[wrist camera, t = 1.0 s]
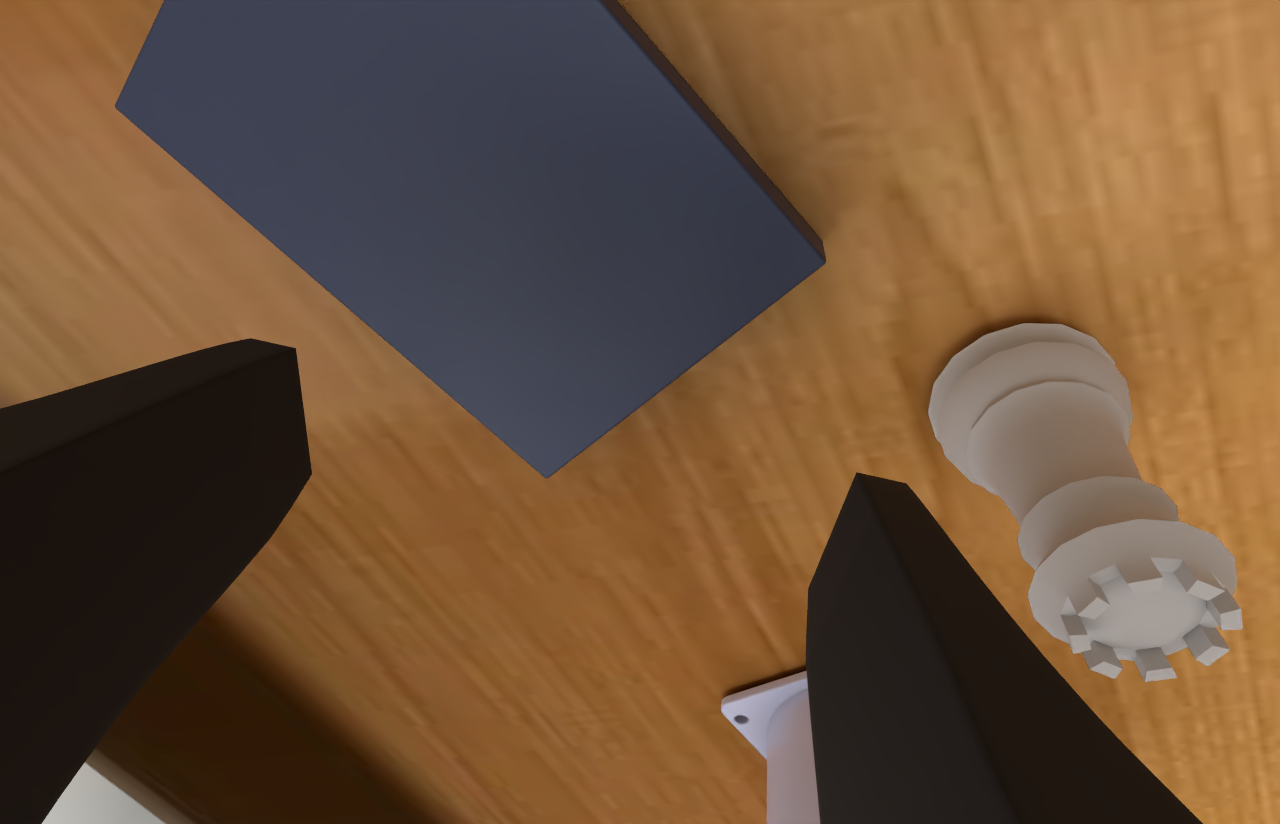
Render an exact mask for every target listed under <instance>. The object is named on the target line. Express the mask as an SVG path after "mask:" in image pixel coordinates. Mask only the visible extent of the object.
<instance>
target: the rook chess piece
mask: <svg viewBox="0 0 1280 824" xmlns="http://www.w3.org/2000/svg"><path fill="white" fill-rule="evenodd" d="M928 415H929V418H930V421H931V424H932V428H933V431H934V434H935V438H936V439H937V440H938V441H939V442H940V443H941V445H942V448H943V451H944V454H945V457H946V458H947V459H948V460H949V461H950V462H951V463H952V464H953V465H954V466H955V467H956V468H957V469H958V470H959V471H960V472H961V473H962V474H963V475H964V476H965V477H966V478H967V479H969V480H970V481H971V482H972V483H974V484H977V485H979V486H982V487H984V488H985V489H986V490H987V491H988V492H990V493H993V494H995V495H998V496H1000V497H1001V499H1002V500H1003V501H1004V503H1005V504H1006V506H1007V507H1008V508H1009V510H1010V511H1011V513H1012V514H1013V515H1014V517H1015V518H1016V520H1017V521H1018V523H1019V525H1020V527H1021V528H1020V532H1019V535H1018V538H1017V540H1018V543H1019V547H1020V551H1021V555H1022V558H1023V559H1024V560H1025V561H1026V562H1027V563H1028V564H1029V565H1030V566H1031V567H1032V568H1033V569H1034V570H1035V571H1036V572H1035V574H1034V577H1033V580H1032V583H1031V586H1030V589H1029V592H1028V598H1029V602H1030V606H1031V609H1032V613H1033V617H1034V619H1035V620H1036V621H1037V622H1038V623H1039V624H1040V625H1041V626H1042V627H1044V628H1045V629H1046V630H1047V631H1048V632H1049V633H1050V634H1051V635H1052V636H1053V637H1055V638H1057V639H1059V640H1062V641H1064V642H1066V643H1068V644H1069V645H1070V647H1071V649H1072V652H1073V654H1076V653H1080V652H1082V654H1083V656H1084V658H1085V661H1086V663H1087V665H1088V667H1089V669H1090V670H1092V671H1095V672H1097V673H1100V674H1103V675H1105V676H1108V677H1110V678H1113V679H1115V678H1116V677H1117V675H1118V674H1119V673H1120V672H1121V671H1122V669H1123V668H1122V666H1121V664H1120V662H1119V660H1118V659H1121V660H1132V661H1134V662H1135V664H1136V666H1137V668H1138V670H1139V671H1140V673H1141V675H1142V677H1143V679H1144V681H1145V682H1149V681H1157V680H1165V679H1172V678H1177V676H1176V674H1175V672H1174V670H1173V668H1172V667H1171V665H1170V663H1169V661H1168V660H1167V658H1166V656H1167V655H1170V654H1172V653H1175V652H1177V651H1180V650H1182V649H1185V648H1189V649H1190V651H1191V653H1192V654H1193V656H1194V658H1195V659H1196V660H1198V661H1199V662H1201V663H1203V664H1204V665H1206V666H1207V667H1208V666H1209V665H1210V664H1212V663H1213V662H1215V661H1216V660H1217V659H1219V658H1220V657H1221V656H1223V655H1224V654H1225V653H1227V652H1228V651H1230V648H1229V647H1228V645H1227V644H1226V642H1225V641H1224V639H1223V638H1222V636H1221V635H1220V633H1219V632H1218V630H1217V629H1216V627H1217V626H1218V625H1219V627H1220V628H1221V630H1237V629H1243V628H1242V615H1241V608H1240V607H1239V605H1238V604H1237V603H1236V601H1235V600H1234V598H1233V597H1232V596H1233V593H1234V591H1235V588H1236V586H1237V576H1236V564H1235V557H1234V556H1233V555H1232V554H1231V553H1230V552H1229V550H1228V549H1227V548H1226V547H1225V546H1224V545H1223V544H1222V543H1221V541H1220V540H1219V539H1218V538H1217V537H1216V536H1215V535H1213V534H1210V533H1208V532H1206V531H1203V530H1201V529H1198V528H1196V527H1193V526H1191V525H1188V524H1186V523H1183V522H1180V521H1179V518H1178V510H1177V506H1176V504H1175V503H1174V502H1173V501H1172V500H1171V499H1170V498H1169V497H1168V495H1167V494H1166V493H1165V492H1164V491H1163V490H1162V489H1161V488H1159V487H1157V486H1154V485H1152V484H1149V483H1147V482H1144V481H1143V480H1142V478H1141V476H1140V474H1139V472H1138V470H1137V467H1136V465H1135V463H1134V461H1133V458H1132V456H1131V454H1130V452H1129V449H1128V447H1127V445H1128V442H1129V439H1130V432H1129V428H1130V426H1131V423H1132V420H1133V415H1132V408H1131V402H1130V395H1129V389H1128V384H1127V380H1126V379H1125V378H1124V376H1123V375H1122V374H1121V373H1120V372H1119V371H1118V369H1117V368H1116V366H1115V361H1114V360H1113V359H1112V358H1111V356H1110V355H1109V354H1108V353H1107V352H1106V351H1105V349H1104V348H1103V347H1102V346H1101V345H1100V343H1099V342H1098V341H1097V340H1096V339H1095V338H1094V337H1092V336H1089V335H1087V334H1084V333H1082V332H1080V331H1077V330H1075V329H1073V328H1070V327H1068V326H1065V325H1063V324H1036V323H1022V324H1019V325H1015V326H1012V327H1009V328H1005V329H1002V330H999V331H995V332H992V333H989V334H986V335H983V336H982V337H981V338H979V339H978V340H976V341H975V342H973V343H972V344H970V345H969V346H968V347H966V348H965V349H963V350H962V351H960V352H959V353H957V354H956V355H954V356H953V357H952V359H951V360H950V362H949V363H948V364H947V366H946V367H945V369H944V370H943V371H942V373H941V374H940V376H939V377H938V378H937V380H936V381H935V383H934V384H933V389H932V394H931V399H930V404H929V409H928Z"/></svg>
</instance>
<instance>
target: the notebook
mask: <svg viewBox="0 0 1280 824" xmlns="http://www.w3.org/2000/svg"><path fill="white" fill-rule="evenodd" d="M115 107H116V109H117V110H118V111H120V112H121V113H122V114H123V115H124V116H125V117H127V118H128V119H129V120H130V121H131V122H132V123H133V124H135V125H136V126H137V127H138V128H139V129H140V130H142V131H143V132H144V133H145V134H146V135H147V136H149V137H150V138H151V139H152V140H153V141H154V142H156V143H157V144H158V145H159V146H160V147H161V148H163V149H164V150H165V151H166V152H167V153H168V154H170V155H171V156H172V157H173V158H174V159H175V160H176V161H178V162H179V163H180V164H181V165H182V166H183V167H185V168H186V169H187V170H188V171H189V172H190V173H192V174H193V175H194V176H195V177H196V178H197V179H199V180H200V181H201V182H202V183H203V184H204V185H206V186H207V187H208V188H209V189H210V190H211V191H212V192H214V193H215V194H216V195H217V196H218V197H219V198H221V199H222V200H223V201H224V202H225V203H226V204H228V205H229V206H230V207H231V208H232V209H233V210H235V211H236V212H237V213H238V214H239V215H240V216H242V217H243V218H244V219H245V220H246V221H247V222H248V223H250V224H251V225H252V226H253V227H254V228H255V229H257V230H258V231H259V232H260V233H261V234H262V235H264V236H265V237H266V238H267V239H268V240H269V241H271V242H272V243H273V244H274V245H275V246H276V247H278V248H279V249H280V250H281V251H282V252H283V253H284V254H286V255H287V256H288V257H289V258H290V259H291V260H293V261H294V262H295V263H296V264H297V265H298V266H300V267H301V268H302V269H303V270H304V271H305V272H307V273H308V274H309V275H310V276H311V277H312V278H314V279H315V280H316V281H317V282H318V283H319V284H320V285H322V286H323V287H324V288H325V289H326V290H327V291H329V292H330V293H331V294H332V295H333V296H334V297H336V298H337V299H338V300H339V301H340V302H341V303H343V304H344V305H345V306H346V307H347V308H348V309H350V310H351V311H352V312H353V313H354V314H355V315H357V316H358V317H359V318H360V319H361V320H362V321H363V322H365V323H366V324H367V325H368V326H369V327H370V328H372V329H373V330H374V331H375V332H376V333H377V334H379V335H380V336H381V337H382V338H383V339H384V340H386V341H387V342H388V343H389V344H390V345H391V346H393V347H394V348H395V349H396V350H397V351H398V352H399V353H401V354H402V355H403V356H404V357H405V358H406V359H408V360H409V361H410V362H411V363H412V364H413V365H415V366H416V367H417V368H418V369H419V370H420V371H422V372H423V373H424V374H425V375H426V376H427V377H429V378H430V379H431V380H432V381H433V382H434V383H435V384H437V385H438V386H439V387H440V388H441V389H442V390H444V391H445V392H446V393H447V394H448V395H449V396H451V397H452V398H453V399H454V400H455V401H456V402H458V403H459V404H460V405H461V406H462V407H463V408H465V409H466V410H467V411H468V412H469V413H470V414H471V415H473V416H474V417H475V418H476V419H477V420H478V421H480V422H481V423H482V424H483V425H484V426H485V427H487V428H488V429H489V430H490V431H491V432H492V433H494V434H495V435H496V436H497V437H498V438H499V439H501V440H502V441H503V442H504V443H505V444H506V445H507V446H509V447H510V448H511V449H512V450H513V451H514V452H516V453H517V454H518V455H519V456H520V457H521V458H523V459H524V460H525V461H526V462H527V463H528V464H530V465H531V466H532V467H533V468H534V469H535V470H537V471H538V472H539V473H540V474H541V475H542V476H544V477H545V478H549V477H550V476H551V475H553V474H554V473H555V472H557V471H558V470H559V469H560V468H562V467H563V466H564V465H566V464H567V463H568V462H570V461H571V460H572V459H573V458H575V457H576V456H577V455H579V454H580V453H581V452H582V451H584V450H585V449H586V448H588V447H589V446H590V445H591V444H593V443H594V442H595V441H597V440H598V439H599V438H601V437H602V436H603V435H604V434H606V433H607V432H608V431H610V430H611V429H612V428H613V427H615V426H616V425H617V424H619V423H620V422H621V421H622V420H624V419H625V418H626V417H628V416H629V415H630V414H632V413H633V412H634V411H635V410H637V409H638V408H639V407H641V406H642V405H643V404H644V403H646V402H647V401H648V400H650V399H651V398H652V397H653V396H655V395H656V394H657V393H659V392H660V391H661V390H663V389H664V388H665V387H666V386H668V385H669V384H670V383H672V382H673V381H674V380H675V379H677V378H678V377H679V376H681V375H682V374H683V373H684V372H686V371H687V370H688V369H690V368H691V367H692V366H694V365H695V364H696V363H697V362H699V361H700V360H701V359H703V358H704V357H705V356H706V355H708V354H709V353H710V352H712V351H713V350H714V349H715V348H717V347H718V346H719V345H721V344H722V343H723V342H725V341H726V340H727V339H728V338H730V337H731V336H732V335H734V334H735V333H736V332H737V331H739V330H740V329H741V328H743V327H744V326H745V325H746V324H748V323H749V322H750V321H752V320H753V319H754V318H756V317H757V316H758V315H759V314H761V313H762V312H763V311H765V310H766V309H767V308H768V307H770V306H771V305H772V304H774V303H775V302H776V301H777V300H779V299H780V298H781V297H783V296H784V295H785V294H787V293H788V292H789V291H790V290H792V289H793V288H794V287H796V286H797V285H798V284H799V283H801V282H802V281H803V280H805V279H806V278H807V277H808V276H810V275H811V274H812V273H814V272H815V271H816V270H818V269H819V268H820V267H821V266H823V265H824V264H825V263H826V258H825V252H824V247H823V242H822V240H821V238H820V237H819V236H818V235H817V234H816V233H815V231H814V230H813V229H812V228H811V227H810V226H809V224H808V223H807V222H806V221H805V220H804V219H803V217H802V216H801V215H800V214H799V213H798V212H797V210H796V209H795V208H794V207H793V206H792V205H791V203H790V202H789V201H788V200H787V199H786V198H785V196H784V195H783V194H782V193H781V192H780V191H779V189H778V188H777V187H776V186H775V185H774V184H773V182H772V181H771V180H770V179H769V178H768V177H767V175H766V174H765V173H764V172H763V171H762V170H761V168H760V167H759V166H758V165H757V164H756V162H755V161H754V160H753V159H752V158H751V157H750V155H749V154H748V153H747V152H746V151H745V150H744V148H743V147H742V146H741V145H740V144H739V143H738V141H737V140H736V139H735V138H734V137H733V136H732V134H731V133H730V132H729V131H728V130H727V129H726V127H725V126H724V125H723V124H722V123H721V122H720V120H719V119H718V118H717V117H716V116H715V115H714V113H713V112H712V111H711V110H710V109H709V108H708V106H707V105H706V104H705V103H704V102H703V101H702V99H701V98H700V97H699V96H698V95H697V94H696V92H695V91H694V90H693V89H692V88H691V87H690V85H689V84H688V83H687V82H686V81H685V80H684V78H683V77H682V76H681V75H680V74H679V73H678V71H677V70H676V69H675V68H674V67H673V66H672V64H671V63H670V62H669V61H668V60H667V58H666V57H665V56H664V55H663V54H662V53H661V51H660V50H659V49H658V48H657V47H656V46H655V44H654V43H653V42H652V41H651V40H650V39H649V37H648V36H647V35H646V34H645V33H644V32H643V30H642V29H641V28H640V27H639V26H638V25H637V23H636V22H635V21H634V20H633V19H632V18H631V16H630V15H629V14H628V13H627V12H626V11H625V9H624V8H623V7H622V6H621V5H620V4H619V2H618V1H617V0H164V2H163V4H162V6H161V8H160V11H159V13H158V15H157V17H156V19H155V21H154V23H153V25H152V28H151V30H150V32H149V34H148V36H147V38H146V40H145V42H144V45H143V47H142V49H141V51H140V53H139V55H138V57H137V60H136V62H135V64H134V66H133V68H132V70H131V72H130V74H129V77H128V79H127V81H126V83H125V85H124V87H123V89H122V91H121V94H120V96H119V98H118V100H117V102H116V104H115Z"/></svg>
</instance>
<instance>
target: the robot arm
mask: <svg viewBox="0 0 1280 824" xmlns="http://www.w3.org/2000/svg"><path fill="white" fill-rule="evenodd" d="M311 475H312V470H311V463H310V455H309V447H308V439H307V432H306V424H305V416H304V408H303V401H302V393H301V385H300V377H299V370H298V362H297V354H296V348H292V347H287V346H283V345H278V344H274V343H269V342H265V341H260V340H256V339H251V338H250V339H245V340H240V341H235V342H230V343H226V344H222V345H218V346H214V347H210V348H206V349H203V350H199V351H196V352H192V353H189V354H185V355H182V356H178V357H175V358H171V359H168V360H165V361H161V362H158V363H155V364H151V365H148V366H145V367H141V368H138V369H135V370H131V371H128V372H125V373H122V374H118V375H115V376H112V377H108V378H105V379H102V380H98V381H95V382H92V383H88V384H85V385H82V386H79V387H75V388H72V389H69V390H65V391H62V392H59V393H55V394H52V395H48V396H45V397H41V398H38V399H34V400H30V401H27V402H23V403H20V404H16V405H12V406H9V407H5V408H1V409H0V824H42V822H43V821H44V819H45V818H46V816H47V815H48V813H49V812H50V810H51V809H52V807H53V806H54V804H55V803H56V802H57V800H58V799H59V797H60V796H61V794H62V793H63V792H64V790H65V789H66V787H67V786H68V785H69V783H70V782H71V780H72V779H73V777H74V776H75V775H76V773H77V772H78V770H79V769H80V768H81V766H82V765H83V764H84V762H85V761H86V760H87V758H88V757H89V755H90V754H91V753H92V751H93V750H94V749H95V747H96V746H97V744H98V743H99V742H100V740H101V739H102V737H103V736H104V735H105V733H106V732H107V730H108V729H109V728H110V726H111V725H112V724H113V722H114V721H115V719H116V718H117V717H118V715H119V714H120V713H121V712H122V710H123V709H124V708H125V707H126V706H127V704H128V703H129V702H130V701H131V699H132V698H133V697H134V696H135V694H136V693H137V692H138V691H139V689H140V688H141V687H142V686H143V685H144V683H145V682H146V681H147V680H148V679H149V677H150V676H151V675H152V674H153V673H154V672H155V671H156V669H157V668H158V667H159V666H160V665H161V664H162V663H163V661H164V660H165V659H166V658H167V657H168V656H169V655H170V653H171V652H172V651H173V650H174V649H175V648H176V647H177V645H178V644H179V643H180V642H181V641H182V640H183V639H184V637H185V636H186V635H187V634H188V633H189V632H190V631H191V629H192V628H193V627H194V626H195V625H196V624H197V623H198V621H199V620H200V619H201V618H202V617H203V616H204V615H205V613H206V612H207V611H208V610H209V609H210V608H211V607H212V605H213V604H214V603H215V602H216V601H217V600H218V599H219V597H220V596H221V595H222V594H223V593H224V592H225V591H226V589H227V588H228V587H229V586H230V585H231V584H232V582H233V581H234V580H235V579H236V578H237V577H238V576H239V574H240V573H241V572H242V571H243V570H244V569H245V567H246V566H247V565H248V564H249V563H250V562H251V560H252V559H253V558H254V557H255V556H256V555H257V553H258V552H259V551H260V550H261V549H262V547H263V546H264V545H265V544H266V543H267V541H268V540H269V539H270V538H271V537H272V535H273V534H274V532H275V531H276V529H277V528H278V526H279V525H280V523H281V522H282V520H283V519H284V517H285V516H286V514H287V513H288V511H289V510H290V509H291V507H292V505H293V504H294V502H295V500H296V499H297V497H298V496H299V494H300V492H301V491H302V489H303V488H304V486H305V484H306V483H307V481H308V480H309V478H310V476H311ZM721 712H722V713H723V715H724V716H725V717H726V718H727V719H728V720H729V721H730V722H731V723H732V724H733V725H734V726H735V727H736V728H737V729H738V730H739V731H740V732H741V734H742V735H743V736H744V737H745V738H746V739H747V740H748V741H749V742H750V743H751V744H752V745H753V746H754V747H755V748H756V749H757V750H758V751H759V752H760V753H761V755H762V756H763V757H764V758H765V759H766V760H767V824H1203V823H1202V822H1201V821H1200V820H1199V819H1198V818H1197V817H1196V816H1195V815H1194V814H1193V813H1192V812H1191V811H1190V810H1189V809H1188V808H1187V807H1186V806H1185V805H1184V804H1183V803H1182V802H1181V801H1180V800H1179V799H1178V798H1177V797H1176V796H1175V795H1174V794H1173V793H1172V792H1171V791H1170V790H1169V789H1168V788H1167V787H1166V786H1165V785H1164V784H1163V783H1162V782H1161V781H1160V780H1159V779H1158V778H1157V777H1156V776H1155V775H1154V774H1153V773H1152V772H1151V771H1150V770H1149V769H1148V768H1147V767H1146V766H1145V765H1144V764H1143V763H1142V762H1141V761H1140V760H1139V759H1138V758H1137V757H1136V756H1135V755H1134V754H1133V753H1132V752H1131V751H1130V750H1129V749H1128V748H1127V747H1126V746H1125V745H1124V744H1123V743H1122V742H1121V741H1120V740H1119V739H1118V738H1117V737H1116V736H1115V735H1114V733H1113V732H1112V731H1111V730H1110V729H1109V728H1108V727H1107V726H1106V725H1105V724H1104V723H1103V722H1102V721H1101V720H1100V719H1099V718H1098V716H1097V715H1096V714H1095V713H1094V712H1093V711H1092V710H1091V709H1090V708H1089V707H1088V705H1087V704H1086V703H1085V702H1084V701H1083V700H1082V699H1081V697H1080V696H1079V695H1078V694H1077V693H1076V692H1075V691H1074V690H1073V688H1072V687H1071V686H1070V685H1069V684H1068V683H1067V682H1066V681H1065V679H1064V678H1063V677H1062V676H1061V675H1060V674H1059V673H1058V672H1057V670H1056V669H1055V668H1054V667H1053V666H1052V665H1051V664H1050V662H1049V661H1048V660H1047V659H1046V658H1045V657H1044V656H1043V654H1042V653H1041V652H1040V651H1039V650H1038V648H1037V647H1036V646H1035V645H1034V644H1033V643H1032V641H1031V640H1030V639H1029V638H1028V637H1027V635H1026V634H1025V633H1024V632H1023V631H1022V629H1021V628H1020V627H1019V626H1018V625H1017V623H1016V622H1015V621H1014V620H1013V618H1012V617H1011V616H1010V615H1009V614H1008V612H1007V611H1006V610H1005V609H1004V607H1003V606H1002V605H1001V604H1000V602H999V601H998V600H997V599H996V597H995V596H994V595H993V594H992V592H991V591H990V590H989V589H988V587H987V586H986V585H985V584H984V582H983V581H982V580H981V578H980V577H979V576H978V575H977V573H976V572H975V571H974V569H973V568H972V567H971V566H970V564H969V563H968V562H967V560H966V559H965V558H964V556H963V555H962V554H961V553H960V551H959V550H958V549H957V547H956V546H955V545H954V543H953V542H952V541H951V540H950V538H949V537H948V536H947V534H946V533H945V532H944V530H943V529H942V528H941V526H940V525H939V524H938V523H937V521H936V520H935V519H934V517H933V516H932V515H931V513H930V512H929V511H928V509H927V508H926V507H925V506H924V504H923V503H922V502H921V501H920V499H919V498H918V497H917V496H916V494H915V493H914V492H913V491H912V490H911V488H910V487H909V486H908V485H907V484H906V483H902V482H897V481H893V480H888V479H884V478H879V477H875V476H870V475H866V474H861V473H857V472H856V475H855V477H854V480H853V482H852V485H851V487H850V489H849V492H848V494H847V497H846V499H845V501H844V504H843V506H842V509H841V511H840V514H839V516H838V518H837V521H836V523H835V526H834V528H833V530H832V533H831V535H830V538H829V540H828V543H827V545H826V547H825V550H824V552H823V555H822V557H821V559H820V562H819V564H818V567H817V569H816V572H815V574H814V576H813V579H812V581H811V584H810V586H809V589H808V611H807V635H806V671H803V672H800V673H797V674H794V675H791V676H788V677H785V678H782V679H778V680H775V681H772V682H769V683H766V684H763V685H760V686H757V687H753V688H750V689H747V690H744V691H741V692H738V693H735V694H732V695H728V696H726V697H724V698H723V700H722V703H721Z"/></svg>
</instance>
